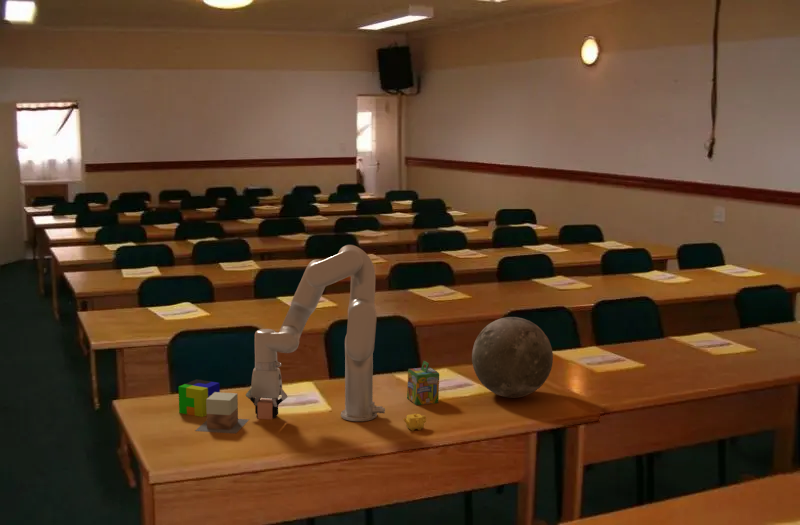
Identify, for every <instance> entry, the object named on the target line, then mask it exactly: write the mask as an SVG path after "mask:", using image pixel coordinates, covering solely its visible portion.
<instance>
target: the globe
mask: <svg viewBox="0 0 800 525" xmlns="http://www.w3.org/2000/svg"><path fill="white" fill-rule="evenodd" d="M553 360H554V354H553V347H552V345H551V342H550V339H549V338H548V336H547V335H546V334H545V331H543V330H542V328H541V327H539V326H538V325H537V324H535V323H534V322H532V321H531V320H528V319H525V318H522V317H518V316H506V317H502V318H499V319H495V320H494V321H492V322H490V323H488V324H487V325H486V326H485V327H484V328H483V329H482V330H481V331H480V332H479V334H478V335H477V336H476V339H475V341H474V344H473V348H472V352H471V362H472V366H473V367H472V368H473V371H474V373H475V375H476V377H477V379H478V380H479V382H480V383H481V384H482V385H483V386H484V387H485V388H486V389H487V390H488V391H490V392H491V393H493V394H494V395H497V396H500V397H504V398H511V399H512V398H515V399H516V398H523V397H527V396H529V395H530V394H532V393H534V392H536V391H537V390H539V389H540V388H541V387H542V386H543V385H544V384H545V383H546V381H547V379H548V378H549V376H550V373H551V371H552V367H553Z"/></svg>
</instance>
